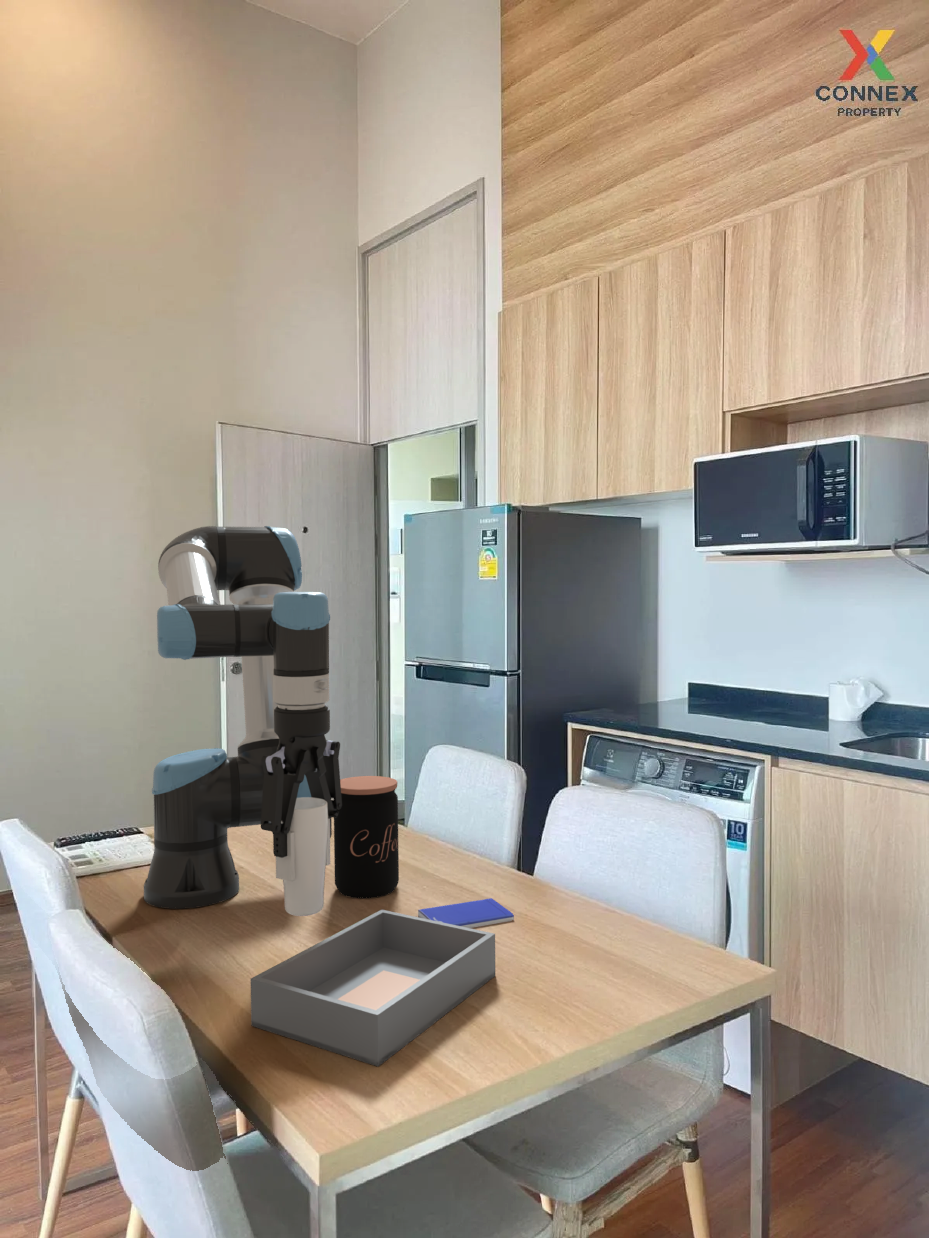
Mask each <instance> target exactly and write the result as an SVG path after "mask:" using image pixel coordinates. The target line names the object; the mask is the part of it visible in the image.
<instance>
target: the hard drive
mask: <svg viewBox="0 0 929 1238" xmlns="http://www.w3.org/2000/svg"><path fill="white" fill-rule="evenodd" d="M417 917H419V918H424V919H428V920H433V921H438V922H443V923H447V924H452V925H457V926H461V927H466V928H471V929H475V928H477V927H484V926H489V925H490V926H491V925H495V924H500V923H507V922H512V920H513V921H515V914H513V912H511V911H510V910H509V909H507V908H506V907H505V906H503V905H502V904H500V903H499V902H497V901H496V900H495V899H494V898H491V897H490V898H485V899H478V900H473V901H467V902H465V901H464V902H458V903H451V904H446V905H439V906H434V907H433V906H432V907H426V908H422V909H421V908H420V909H417Z"/></svg>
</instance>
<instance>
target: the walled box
mask: <svg viewBox="0 0 929 1238" xmlns="http://www.w3.org/2000/svg"><path fill="white" fill-rule="evenodd" d="M495 977H496V933H494V932H489V931H486V930H480V929H479V930H478V929H475V928H466V927H461V926H457V925H452V924H447V923H443V922H438V921H433V920H428V919H424V918H420V917H419V916H414V915H410V914H409V915H408V914H405V913H400V912H396V911H395V912H394V911H390V910H385V909H380V910H378V911H376V912H374V913H372V914H371V915H369V916H367V917H365V918H363V919H362V920H361V919H360V920H359V921H357V922H356V923H354V924H352V925H350V926H348V927H346V928H344V929H342V930H341V931H339V932H336V933H334V934H333V935H331V936H329V937H327V938H324V939H323V940H322V941H319V942H318V943H315V944H314V945H312V946H310V947H307V948H306V949H304V950H302V951H300V952H298V953H296V954H295V955H293V956H290V957H289V958H287V959H285V960H283V961H281V962H280V963H278V964H276V965H273V966H272V967H270V968H267V969H266V970H264V971H262V972H261V973H258V974H257V975H255V976H253V977H251V978H250V1022H251V1023H250V1024H251V1027H254V1028H257V1029H260V1030H263V1031H266V1032H269V1033H272V1034H275V1035H279V1036H282V1037H285V1038H288V1039H291V1040H295V1041H296V1042H300V1043H304V1044H307V1045H310V1046H313V1047H315V1048H319V1049H322V1050H325V1051H328V1052H331V1053H335V1054H338V1055H340V1056H345V1057H348V1058H349V1059H354V1060H356V1061H360V1062H363V1063H366V1064H368V1065H372V1066H375V1067H378V1068H379V1067H380V1066H381V1065H382V1064H384V1063H385V1062H386V1061H388V1060H389V1059H390V1058H391V1057H393V1056H394V1055H396V1054H397V1053H398V1052H399V1051H400V1050H402V1049H403V1048H404V1047H406V1046H407V1045H408V1044H409V1043H410V1042H412V1041H413V1040H415V1039H416V1038H417V1037H419V1036H420V1035H421V1034H422V1033H424V1032H425V1031H426V1030H427V1029H428V1028H430V1027H431V1026H433V1025H434V1024H436V1022H438V1021H439V1020H441V1019H442V1018H443V1017H444V1016H446V1015H447V1014H448V1013H449V1012H451V1011H452V1010H453V1009H455V1008H456V1007H457V1006H458V1005H460V1004H461V1003H462V1002H463V1001H465V1000H466V999H467V998H469V997H470V996H471V995H472V994H474V993H475V992H477V991H478V990H479V989H480V988H482V987H483V986H484V985H485V984H486V983H487V984H488V982H489V981H490V980H492V979H494V978H495Z"/></svg>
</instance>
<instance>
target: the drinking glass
mask: <svg viewBox="0 0 929 1238" xmlns="http://www.w3.org/2000/svg"><path fill="white" fill-rule="evenodd" d="M281 824H282V821H281ZM290 831H292V832H294V834H295V880H294V881H287V880H283V879H282V884H283V885H282V887H283V896H284V897H283V898H284V899H283V901H284V910H285V912H286V913H287V914H289V915H292V916H295V917H308V916H313V915H316V914H318V913H320V912H321V911H322V910H323V908H324V906H325V905H324V904H325V892H324V891H325V882H326V881H325V880H326V878H325V877H326V867H327V866H326V855H327V842H328V803H327V801H325V800H324V799H320V798H313V797H301V798H297V799H296V803H295V808H294V813H293V817H292V822H291V827H290Z"/></svg>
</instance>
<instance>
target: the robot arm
mask: <svg viewBox="0 0 929 1238" xmlns="http://www.w3.org/2000/svg"><path fill="white" fill-rule="evenodd" d="M157 564H158V565H157V567H158V568H157V569H158V576H159V579H160V581H161V584H162V585H163V586H164V587H165V589H166V593H167V594H166V596H167V603H168V605H163V606H160V607H158V610H157V611H156V612H157V613H156V629H157V630H156V634H157V635H156V637H157V639H156V640H157V653H158V655H159V656H161V657H162V658H163V659H181V660H184V661H186V660H190V659H193V660H194V659H214V658H216V659H217V658H236V657H238V658H239V657H241V668H242V672H241V673H242V685H243V687H242V688H243V705H244V722H245V723H244V724H245V738H243V739H242V741H241V742H240V743H239V744H238V745H237V756H229V757H228V754H227V752H226V750H225V749H224V748H218V747H217V748H216V747H214V748H202V749H201V748H200V749H195V750H190V751H189V750H188V751H185V752H182V753H177V754H174V755H171V756H168V757H166V758H164V759H162V760H161V761H159V762H158V763H157V764H156V765H155V766H154V769H153V774H152V775H153V779H152V788H151V794H152V795H153V843H154V844H153V846H154V847H153V854H152V858H151V861H150V864H149V865H150V866H149V869H148V873H147V878H146V879H145V882H144V884H143V900H144V902H145V903H146V904H148V905H150V906H153V907H157V908H161V909H177V910H178V909H192V908H193V909H195V908H199V907H201V908H202V907H207V906H211V905H214V904H218V903H221V902H224V901H227V900H229V899H231V898H233V897H234V896H236V895H237V894H238V893H239V890H240V876H239V873H238V870H236V866H235V863H234V862H235V861H234V859H233V856H232V852H231V850H230V847H229V844H228V829H231V828H236V827H237V828H239V827H241V828H242V827H250V826H259V825H260V829H261V830H263V831H266V832H271V833H272V835H273V837H272V841H273V842H272V844H273V845H272V850H273V855H274V857H275V878H276V879H279V880H282V881H283V880H287V881H294V880H295V834H294V832H292V831H290V827H291V822H292V817H293V813H294V808H295V803H296V799H297V798H301V797H313V798H320V799H324V800H325V801H327V803H328V842H327V855H326V867H327V866H329V865H331V839H332V831H333V830H332V826H333V825H332V823H333V822H332V819H334V818H336V817H337V816H338V811H335V810H336V809H338V810H339V809H341V807H342V797H341V784H340V780H341V773H340V772H341V771H340V761H339V760H340V759H339V756H340V751H341V750H340V749H341V743H340V742H339V741H337V740H330V739H326V735H327V734H328V733H329V732H330V730H331V725H330V724H331V719H330V718H331V716H330V715H331V712H330V711H331V708H330V707H329V705H327V703H328V702H329V701H330V675H329V674H330V620H331V614H330V612H329V611H330V610H329V598H328V596H327V594H325V593H324V592H320V591H296V590H299V589H300V588H301V586H302V583H303V582H302V581H303V570H302V567H303V566H302V565H303V564H302V558H301V552H300V548H299V545H298V542H297V539H296V536H295V535H294V534H293V532H292V531H291V530H289V529H287V528H284V527H275V526H269V525H265V526H216V525H215V526H214V525H207V526H201V527H195V528H193V529H191V530H188V531H186V532H183V533H181V534H179V535H178V536H177V537H175V538H174V539H172V540H171V541H170V542H169V543H168V544H167V545H166V546H165V547H164V548H163V550H162V551H161V554H160V556H159V559H158V563H157ZM218 591H228V594H229V595H228V596H229V597H228V598H229V601H230V603H231V604H221V602H220V597H219V593H218ZM281 821H282V824H281Z"/></svg>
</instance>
